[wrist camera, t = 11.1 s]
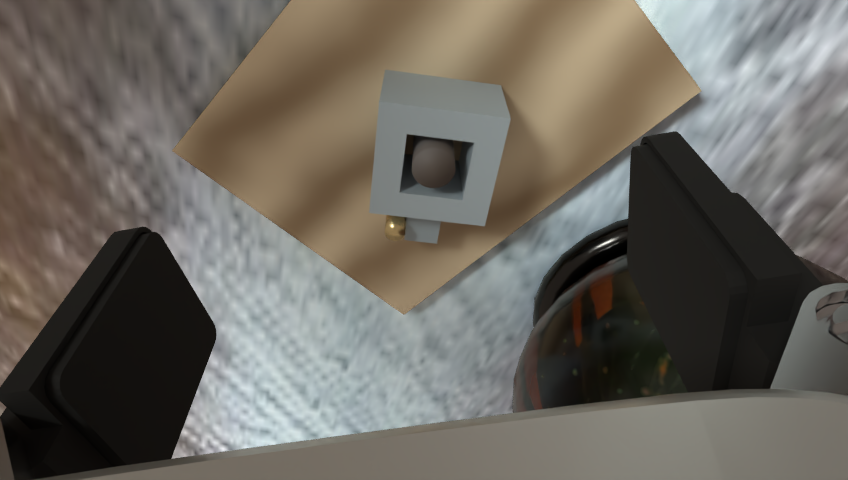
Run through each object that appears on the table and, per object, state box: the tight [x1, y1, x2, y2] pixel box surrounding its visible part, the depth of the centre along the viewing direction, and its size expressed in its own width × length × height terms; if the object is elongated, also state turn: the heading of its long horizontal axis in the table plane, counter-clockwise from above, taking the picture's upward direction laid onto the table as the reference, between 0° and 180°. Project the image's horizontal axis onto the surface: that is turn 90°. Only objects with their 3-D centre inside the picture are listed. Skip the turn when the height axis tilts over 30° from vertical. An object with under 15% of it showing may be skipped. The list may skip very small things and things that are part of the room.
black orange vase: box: [512, 219, 848, 413], centre depth 30 cm, size 22×22×28 cm
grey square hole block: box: [369, 70, 511, 244], centre depth 31 cm, size 9×6×4 cm
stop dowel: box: [385, 215, 406, 241], centre depth 33 cm, size 1×1×4 cm
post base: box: [172, 0, 701, 315], centre depth 30 cm, size 19×24×6 cm
